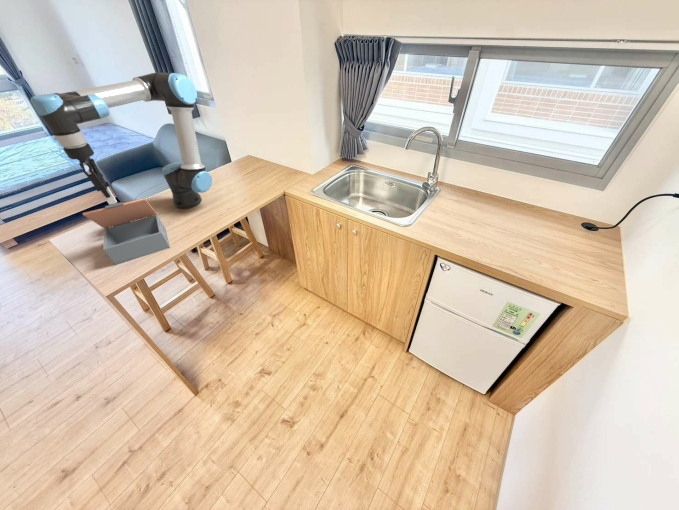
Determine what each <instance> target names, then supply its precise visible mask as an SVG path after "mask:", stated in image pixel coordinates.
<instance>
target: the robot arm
mask: <svg viewBox="0 0 679 510" xmlns="http://www.w3.org/2000/svg"><path fill="white" fill-rule="evenodd" d="M197 99H198V92H197V88H196V86H195V84H194V83H193V82H192V80H191V79H190V78H189V77H188V76H187V75H185V74H181V73H176V72H162V71H161V72H159V71H158V72H152V73H148V74H144V75H139V76H136V77H135V76H134V77H132V80H130V81H129V80H128V81H125V82H119V83H113V84H106V85H101V86H95V87H89V88H84V89H80V90H79V89H78V90H73V91H68V92H67V91H66V92H62V93H58V92H54V93H47V94H46V93H45V94H39V95H34V96H31V97H30V102H31V104H32V106H33V108H34V109H35V111H36V113H37V115H38V116H39V117H40V118H41V120H42V121H43V123H44V124H45V126H46V127H48V129H49V130H50V132H51V133H52V135H53V136H54V137H53V140H54V141H57V142H58V144H59V146H60V147H62V149H63V152H65V154H66V156H67V157H68V158H69V159H70V160H77V161H79V162H78V165H79V167H80V168H81V169H82V172H83V174H85V176H86V177H87V178H88V179H89V181H90V182H91V184H93V186H94V188H96V191H97V192H100V193H101V194H102V196H103V197H104V199H105V200H106V202H107V203H108V205H112V204H116V203H118V201H117V199H116V197H115V196H114V194H113V193H112V191H111V189H110V188H109V187H110V184H107V181H106V180H105V178H104V176H103V175H102V173H101V171H100V169H99V167H98V166H97V163H96V162H95V159H94V158H91V157H92V156H94V155H95V152H94V150H93V148H92V147H91V145H90V144H89V143H88V140H87V138H86V137H85V135H84V133H83V132H82V131H81V129H80V127H79V126H78V125H79V124H83V123H88V122H92V121H96V120H102V119H104V118H107V117H109V116H110V109H111V108H115V107H119V106H124V105H127V104H131V103H136V102H140V101H143V102H146V103H147V102H151V101H153V102H154V101H156V102H157V101H158V102H159V101H160V102H164V103H165V107H166V108H167V109H169V110H170V112H171V116H172V120H173V126H174V129H175V134H176V138H177V143H178V149H179V152H180V153H179V154H180V155H181V156H180V157H181V160H182V161H177V162H176V161H175V162H172V163H169V164H166V165H164V166H163V167H162V168H161V172H162V174H163V177H164V179H165V180H166V183H167V185H168V187H169V189H170V191H171V194H172V195H171V196H172V203H173V206H174V207H175V208H176V209H181V210H182V209H183V210H186V209H190V208H194V207H196V206H198V205H199V204H201V203H202V201H203V199H202V196H201V195H200V193H202V194H204V193H206V192H208V191H209V190H210V189H211V187H212V185H213V178H212V175H211V174H210V173H209V172H208V171H207V170H206V166H205V165H204V163H202V161H201V160H202V159H201V155H200V151H199V150H200V149H199V144H198V139H197V134H196V129H195V124H194V119H193V114H192V112H193V111H194V109H195V105H194V103H196V102H197Z"/></svg>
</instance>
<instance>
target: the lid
mask: <svg viewBox="0 0 679 510" xmlns="http://www.w3.org/2000/svg"><path fill="white" fill-rule="evenodd" d="M154 215H158V213H157V212H156V210H155V209H154V208H153V207H152V205H151V204H150V203H149V202H148V200H147V199H146V198H145V197H144V198H141V199H140V198H139V199H136V200H131V201H128V202H123V201H121V202H117V203H115V204H111V205H109V204H108V205H104V207H103V208H98V209H94V210H90V211H86V212H82V216H84V217H86V218H87V219H89V220H90V221H91V222H93V223H95V224H96V225H98V226H100V227H101V228H103V229H104V230H105V229H106V228H109V227H113V226H116V225H120V224H124V223H127V222H132V221H135V220H139V219H143V218H147V217H150V216H154Z"/></svg>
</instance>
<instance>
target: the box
mask: <svg viewBox="0 0 679 510" xmlns="http://www.w3.org/2000/svg"><path fill="white" fill-rule="evenodd" d="M103 234H104V235H103V251H104V252H105V254H106V255H107V256H108V258H110V260H111V262H113V264H114V265H115V266H116V265H119V264H123V263H125V262H130V261H133V260H136V259H140V258H142V257H145V256H148V255H151V254H155V253H157V252H158V253H159V252H160V251H164V250H168V249H170V248H171V245H170V243H169V239H168V234H167V231H166V228H165V225H164V223H163V222H162V221H161V218H160V217H159V215H158V214H157V215H153V216H150V217H146V218H142V219H138V220H135V221H131V222H128V223H124V224H120V225H117V226H112V227H109V228H105V229H104V233H103Z"/></svg>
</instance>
